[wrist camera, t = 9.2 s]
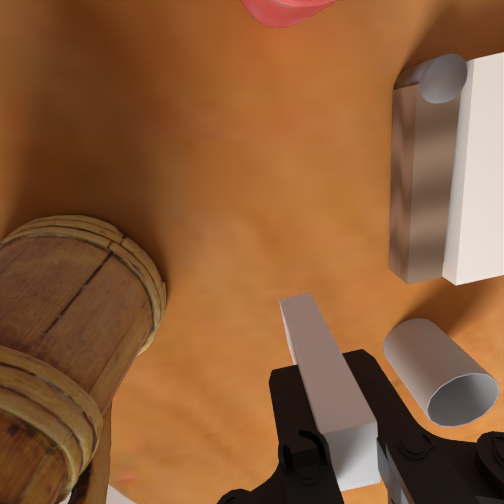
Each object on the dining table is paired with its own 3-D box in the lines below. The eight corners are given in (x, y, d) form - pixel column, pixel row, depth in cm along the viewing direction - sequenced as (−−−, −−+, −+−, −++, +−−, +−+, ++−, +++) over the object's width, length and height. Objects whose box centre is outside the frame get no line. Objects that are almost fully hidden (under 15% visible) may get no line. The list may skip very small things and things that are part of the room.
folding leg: (393, 69, 28) (424, 57, 24) (433, 61, 28) (472, 49, 24) (389, 268, 37) (411, 287, 32) (420, 262, 37) (446, 281, 32)
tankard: (102, 183, 30) (-282, 350, 7) (211, 342, 39) (192, 641, 16) (-38, 257, 32) (-702, 578, 9) (97, 393, 41) (-65, 728, 18)
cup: (449, 322, 41) (513, 377, 32) (425, 367, 44) (477, 429, 35) (395, 314, 40) (446, 370, 31) (374, 361, 43) (414, 424, 34)
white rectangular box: (434, 70, 29) (474, 58, 24) (534, 47, 29) (593, 31, 24) (427, 266, 37) (455, 285, 33) (504, 249, 37) (543, 266, 33)
